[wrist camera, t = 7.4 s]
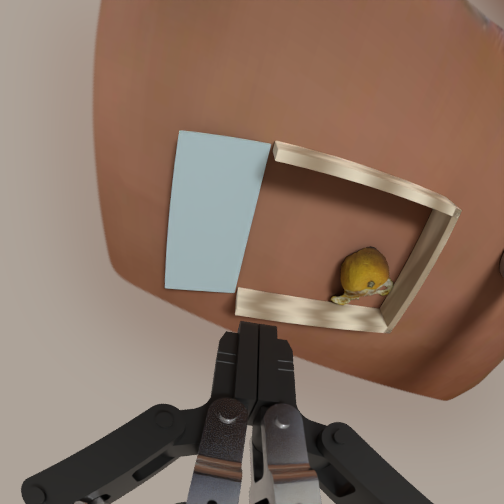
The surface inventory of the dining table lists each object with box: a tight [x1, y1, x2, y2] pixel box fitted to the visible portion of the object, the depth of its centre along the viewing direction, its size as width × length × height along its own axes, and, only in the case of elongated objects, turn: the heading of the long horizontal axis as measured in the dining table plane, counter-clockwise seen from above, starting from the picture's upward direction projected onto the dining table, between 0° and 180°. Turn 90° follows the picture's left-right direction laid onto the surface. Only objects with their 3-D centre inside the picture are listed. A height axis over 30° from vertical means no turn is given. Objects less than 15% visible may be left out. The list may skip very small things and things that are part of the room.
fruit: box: [331, 247, 393, 305], centre depth 31 cm, size 8×8×4 cm
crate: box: [235, 141, 462, 333], centre depth 29 cm, size 20×18×4 cm
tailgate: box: [165, 130, 271, 293], centre depth 28 cm, size 1×17×8 cm
